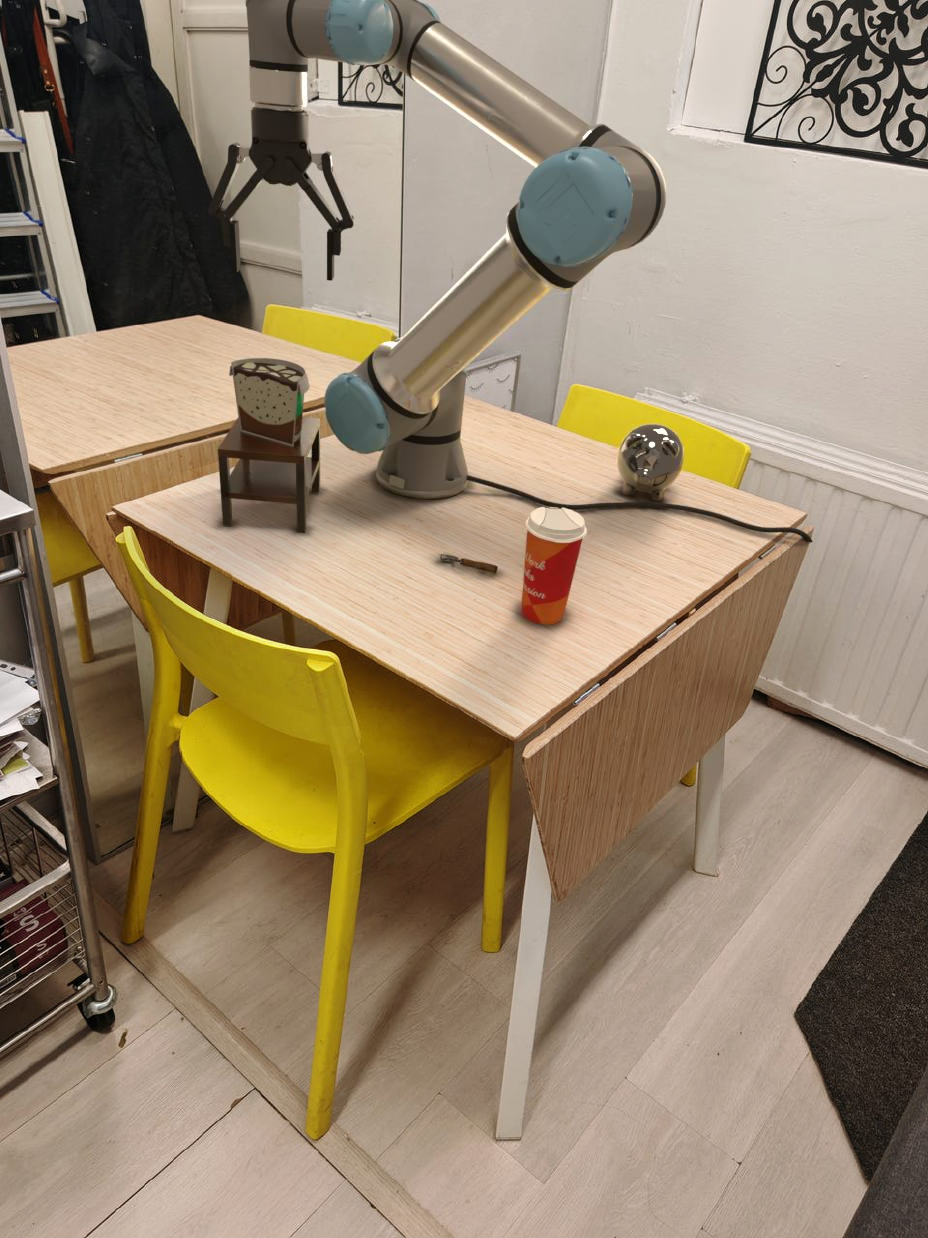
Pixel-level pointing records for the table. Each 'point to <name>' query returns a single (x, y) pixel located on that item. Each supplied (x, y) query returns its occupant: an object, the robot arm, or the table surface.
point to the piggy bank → (650, 459)
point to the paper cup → (550, 562)
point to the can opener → (472, 563)
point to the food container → (270, 398)
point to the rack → (270, 470)
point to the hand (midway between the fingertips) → (283, 274)
